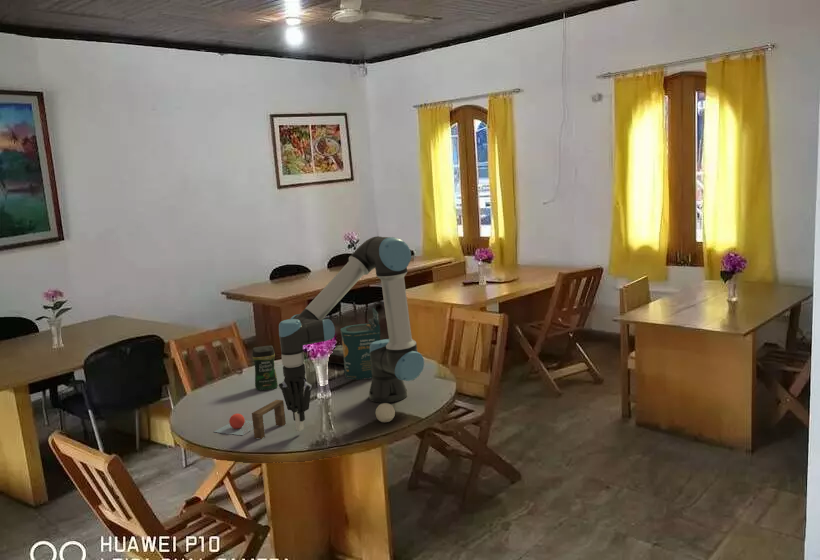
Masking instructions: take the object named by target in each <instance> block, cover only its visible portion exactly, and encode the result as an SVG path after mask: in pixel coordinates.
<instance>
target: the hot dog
mask: <svg viewBox="0 0 820 560" xmlns="http://www.w3.org/2000/svg"><path fill="white" fill-rule="evenodd" d="M335 346H336V347H335V349H334V350H333V353H332V354H331V355H330V357H329V362H328V363H332V364H335V365H336V364H337V365H341V366H344V356H343V345H341V344H340V345H335Z"/></svg>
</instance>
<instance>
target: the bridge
mask: <svg viewBox="0 0 820 560" xmlns="http://www.w3.org/2000/svg"><path fill="white" fill-rule="evenodd" d="M284 402H285V401H284V400H283V399H275V400H273V401H272V402H269V403H268V404H266V405H264V406H263V407H261V408H259V409H256V410H255V411H252V412H251V418H252V420H251V421H253V436H254V439H256V438H260V439H259V440H263V439H264V438H266V433H265V425H264V424H265V423H263V422H264V415H265V414H268V413H269V412H271V411H273V410H274V411H273V412H274V422H275V426H276V425H278V426H277V427H284V426H286V425H285V424H287V423H286V413H285V403H284ZM263 437H264V438H263ZM262 438H263V439H262Z"/></svg>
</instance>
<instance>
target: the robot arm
mask: <svg viewBox="0 0 820 560" xmlns="http://www.w3.org/2000/svg"><path fill="white" fill-rule="evenodd" d="M411 251H412V250H411V249H410V247H409V245H408V243H406V242H405V241H404V240H403V239H400V238H397V237H393V236H392V237H391V236H373V237H370V238H368V239H367V240H365V241H364V242H363V243H362V244H360V245H359V247H357V248H356V249H355V250H354V251H353V252H352V253H351V254H350V256H349V257H348V261H347V263H346V264H344V266H343V267H342V268H341V270H339V272H338V273H336V275H334V277H333V278H332V279H331V280H330V281H329V282H328V284H326V286H324V288H323V289H322V290H321V291H320V292H319V293H318V294H317V295H316V296H315V298H314V299H313V300H312V301H310V302H309V304H308V305H307V306H306V307H305V308H304V309H303V310H302V311H301V312H300V313H299V314H294V315H293V316H291V317H290V318H289V319H283V320H281V321H280V322H279V324H278V336H279V343H280V353H281V355H280V356H281V364H282V372H283V373H282V374H283V377H284V379H283V382H279V383H278V387H279V389H280V390H281V393H282V396H283V399H284V402H285V403H284V404H285V405H286V406H285V407H286V409H287V410H288V411H291V412H292V418H293V421H294V422H295V431H296V432H301V431H302V430H304V429H305V423H304V421H305V420H306V416H305V412H306V411H308V410H309V409H310V402H311V395H312V394H311V393H312V389H313V387H314V384H312V383H309V382H308V381H307V378H306V365H305V356H304V355H305V354H304V346H308V345H312V344H313V345H314V344H317V343H323V342H325V343H326V342H327V341H331V340H333V339H334V338H335V334H336V328H335V324H334V323H333V320H331V319H330V318H326V316H327V315H328V314H329V313H330V312H331V311H332V309H334V308H335V306H336V305H337V304H338V303H339V302H340V301H341V300H342V299H343V298H344V297H345V295H347V293H348V292H349V291H350V290H351V289H352V288H353V287H354V286H355V285H356V284H357V282H358V281H360V279H362V277H363V276H366V275H369V273H370V272H371V271H373V270H374V269H375V277H377V278H378V279H379V280H380V281H381V288H382V289H381V290H382V296H383V304H384V312H385V319H386V328H387V335H388V338H386V339H380V340H379V341H375V342H372V343H371V344H370V359H371V371H372V378H371V382H370V388H369V391H368V396H369V397H368V398H369V400H370V401H372V402H374V403H380V404H383V403H388V404H389V403H395V402H398V401H402V400H404V399H406V398H407V397H408V389H407V387H406V384H405V382H410V381H413V380H416V379H417V378H419V376H420V374H421V373H422V372H423V370H424V366H425V360H424V357H423V355H422V354H421V353H420V352H418V346H417V341H416V340H415V339H413V338H412V331H411V322H410V314H409V313H410V312H409V306H408V298H407V292H406V282H405V276H406V275H407V273H408V266H409V264H410V263H411V261H412V253H411ZM404 381H405V382H404ZM406 396H407V397H406ZM405 397H406V398H405ZM394 401H395V402H394Z"/></svg>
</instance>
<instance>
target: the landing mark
mask: <svg viewBox="0 0 820 560" xmlns="http://www.w3.org/2000/svg"><path fill="white" fill-rule="evenodd" d="M245 421H246V423H248V422H249V423H250V424H251V423H252V421H253V420H247V419H245ZM249 423H248V424H249ZM248 424H247V425H248ZM244 425H245V424H244ZM244 425H243V427H244ZM251 425H252V424H251ZM248 426H249V425H248ZM248 426H247V427H248ZM243 427H241V428H239V429H234V428H232V427H231V426H230V423H227V424H225V425H224V426H222V427H219V428H217V429H216V430H214V431H213V433H216V432H217V433H218V434H224V433H226V435H232V434H234V435H233V436H240V435H243V436H245V435H246V434H245V433H244V434H245V435H244V434H243V432H244V429H243ZM240 429H241V430H240ZM242 430H243V431H242ZM249 430H250V427H249V429H248V431H249ZM245 431H246V430H245ZM251 431H253V430H252V428H251ZM239 434H240V435H239Z"/></svg>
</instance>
